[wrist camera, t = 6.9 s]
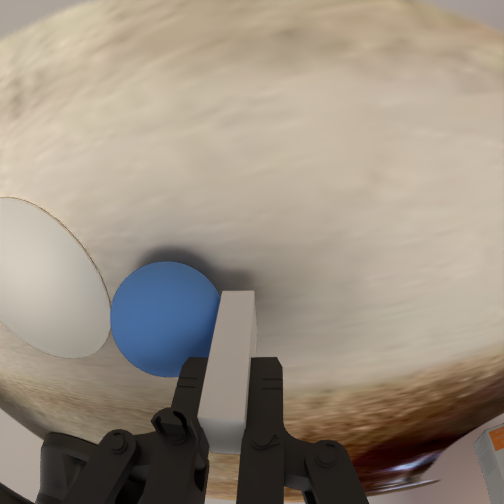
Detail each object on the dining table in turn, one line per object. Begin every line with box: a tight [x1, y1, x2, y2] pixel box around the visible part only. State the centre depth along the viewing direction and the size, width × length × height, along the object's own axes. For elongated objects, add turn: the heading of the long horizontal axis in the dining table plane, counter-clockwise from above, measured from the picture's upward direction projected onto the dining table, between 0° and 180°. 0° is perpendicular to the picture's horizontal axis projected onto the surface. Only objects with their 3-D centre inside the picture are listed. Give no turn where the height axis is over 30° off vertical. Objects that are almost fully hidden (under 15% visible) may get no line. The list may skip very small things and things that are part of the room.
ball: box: [110, 261, 221, 377], centre depth 15 cm, size 6×6×6 cm
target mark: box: [0, 197, 111, 359], centre depth 18 cm, size 13×13×1 cm
